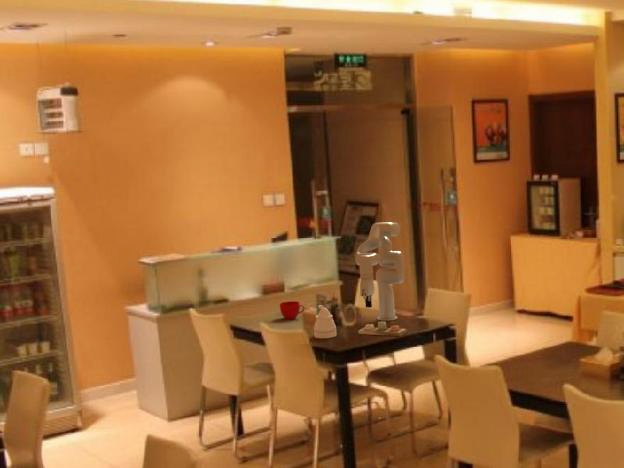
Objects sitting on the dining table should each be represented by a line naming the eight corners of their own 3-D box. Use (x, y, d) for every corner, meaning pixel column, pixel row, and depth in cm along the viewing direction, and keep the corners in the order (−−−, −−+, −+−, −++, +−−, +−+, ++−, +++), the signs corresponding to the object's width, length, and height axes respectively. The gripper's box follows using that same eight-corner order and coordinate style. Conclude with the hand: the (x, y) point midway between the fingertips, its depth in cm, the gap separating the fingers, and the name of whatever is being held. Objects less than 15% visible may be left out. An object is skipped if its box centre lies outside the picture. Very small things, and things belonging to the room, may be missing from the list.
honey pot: (318, 339, 497) (316, 308, 495) (311, 335, 509) (309, 304, 507) (339, 336, 500) (337, 305, 499) (332, 332, 513) (330, 302, 511)
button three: (393, 332, 501) (392, 325, 501) (400, 332, 499) (400, 325, 499) (389, 333, 497) (389, 326, 497) (397, 334, 495) (396, 327, 494)
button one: (368, 330, 509) (367, 323, 509) (375, 331, 507) (375, 324, 506) (364, 332, 505) (364, 325, 505) (371, 332, 503) (371, 325, 502)
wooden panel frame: (366, 330, 513) (365, 326, 513) (406, 332, 500) (406, 328, 500) (358, 333, 504) (358, 330, 504) (399, 336, 491) (399, 332, 491)
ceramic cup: (300, 320, 553) (299, 305, 552) (277, 320, 561) (276, 304, 560) (309, 316, 565) (308, 301, 564) (286, 316, 572) (285, 301, 571)
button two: (380, 328, 505) (379, 321, 505) (387, 328, 503) (387, 321, 502) (376, 329, 501) (376, 322, 500) (384, 330, 499) (383, 323, 498)
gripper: (366, 273, 511) (368, 304, 513) (355, 278, 498) (357, 309, 500) (378, 274, 507) (380, 304, 510) (367, 278, 494) (369, 310, 497)
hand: (368, 307), depth 505 cm, fingers closed
